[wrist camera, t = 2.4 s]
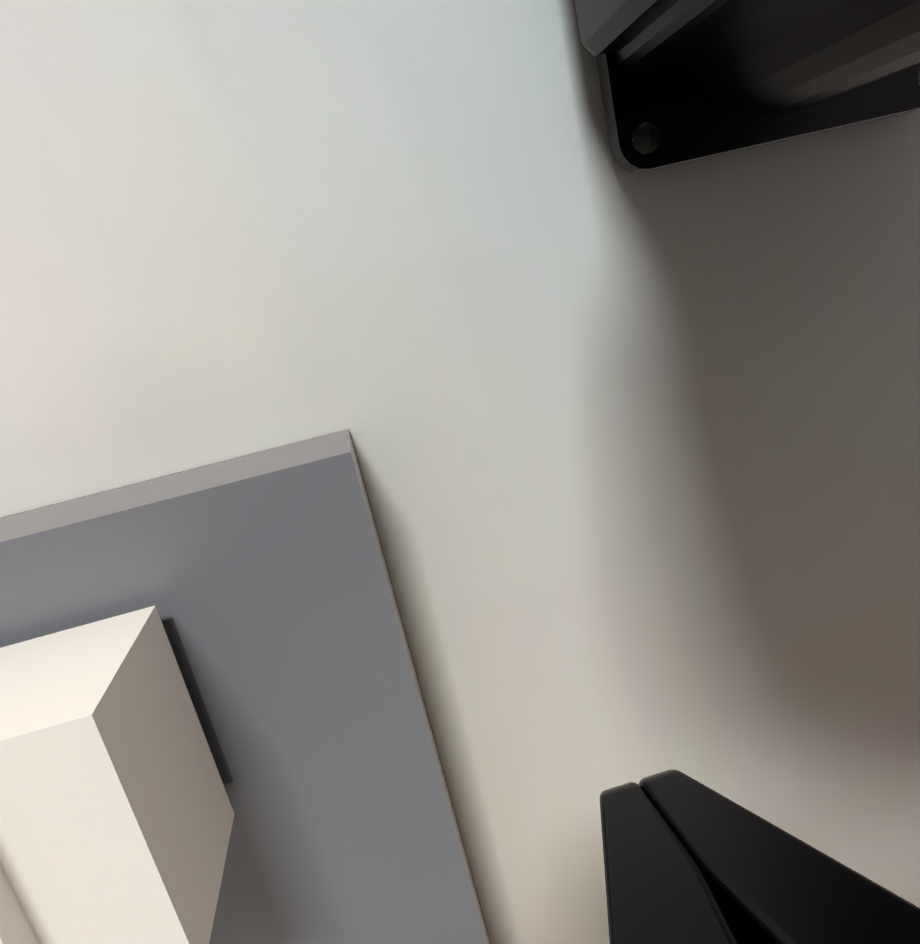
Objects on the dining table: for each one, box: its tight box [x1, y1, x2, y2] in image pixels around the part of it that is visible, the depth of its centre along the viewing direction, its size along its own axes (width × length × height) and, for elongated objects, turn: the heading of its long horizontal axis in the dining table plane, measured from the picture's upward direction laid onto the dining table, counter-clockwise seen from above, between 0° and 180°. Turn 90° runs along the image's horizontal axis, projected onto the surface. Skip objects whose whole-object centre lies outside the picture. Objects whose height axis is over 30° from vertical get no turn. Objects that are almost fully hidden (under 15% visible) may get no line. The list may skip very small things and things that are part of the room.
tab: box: [0, 606, 234, 944], centre depth 10 cm, size 4×4×4 cm
